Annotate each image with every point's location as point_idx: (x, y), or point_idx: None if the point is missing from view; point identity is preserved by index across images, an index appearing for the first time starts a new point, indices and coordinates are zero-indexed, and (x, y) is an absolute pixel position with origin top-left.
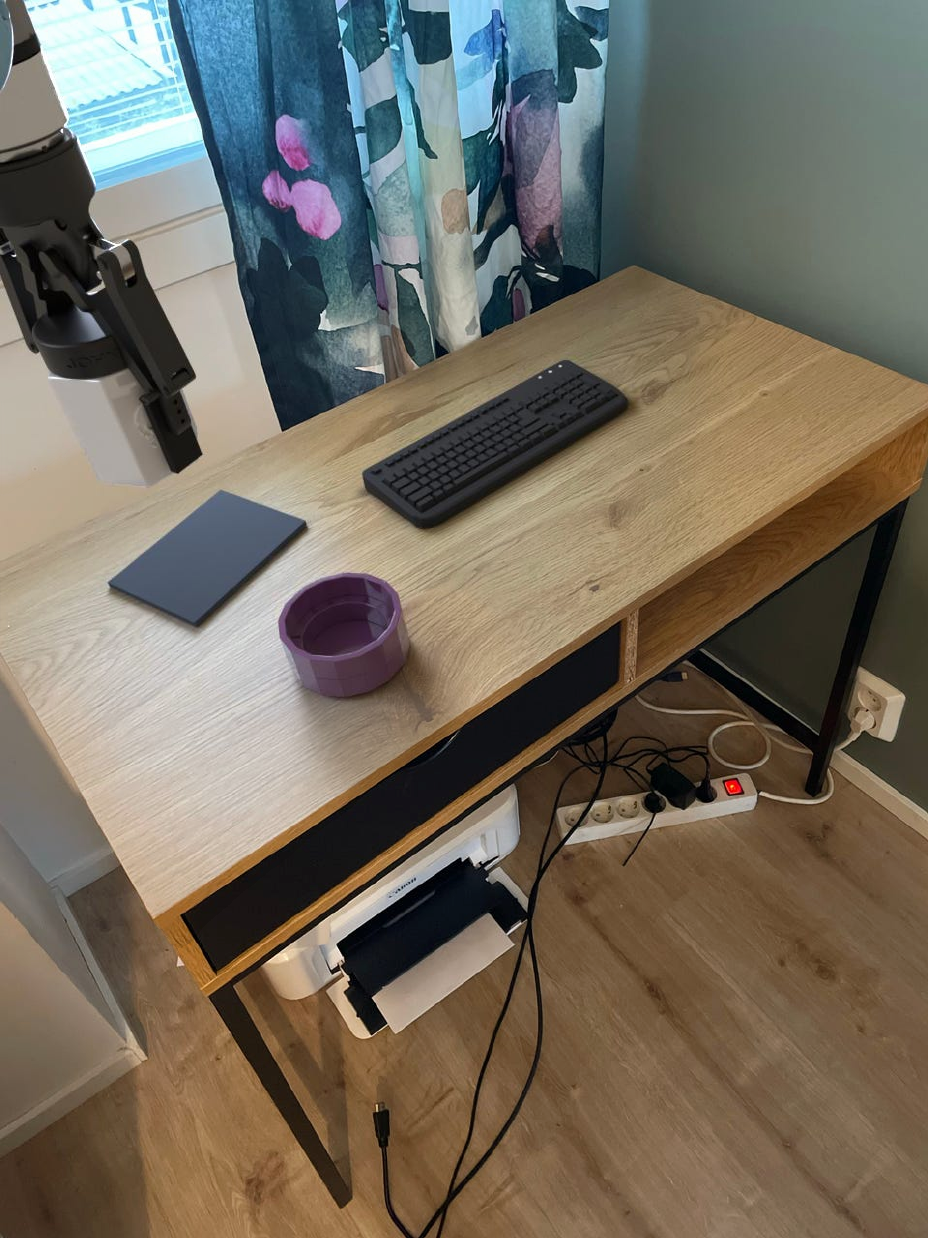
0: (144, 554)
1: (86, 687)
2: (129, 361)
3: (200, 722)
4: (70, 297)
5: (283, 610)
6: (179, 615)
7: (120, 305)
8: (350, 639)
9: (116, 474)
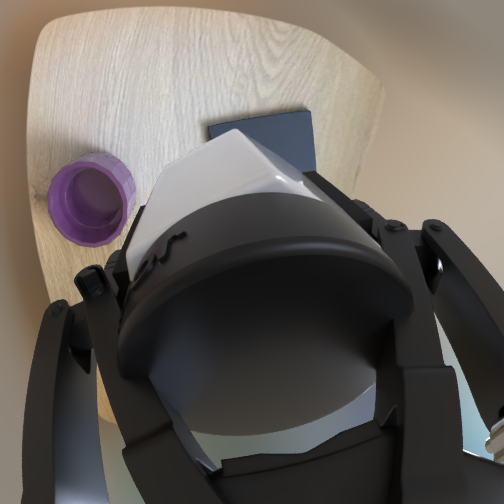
0: (312, 147)
1: (226, 39)
2: (106, 331)
3: (124, 82)
4: (378, 378)
5: (115, 179)
6: (226, 123)
7: (33, 461)
8: (104, 198)
9: (201, 148)
